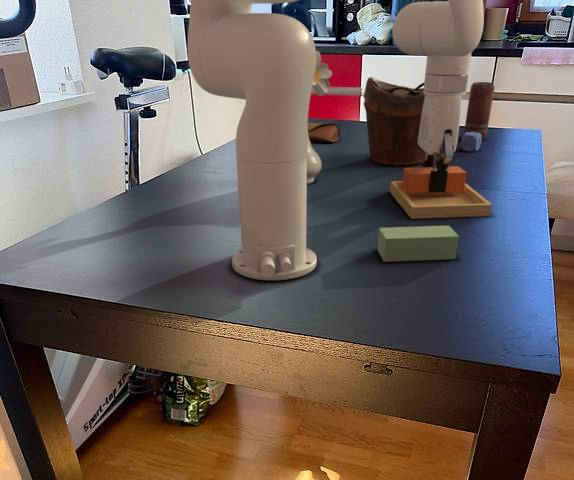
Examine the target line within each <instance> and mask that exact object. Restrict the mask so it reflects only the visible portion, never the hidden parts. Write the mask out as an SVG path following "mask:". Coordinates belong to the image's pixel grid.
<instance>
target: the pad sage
mask: <svg viewBox="0 0 574 480" xmlns="http://www.w3.org/2000/svg"><path fill="white" fill-rule="evenodd" d="M377 237H378V238H377V252H378V254H379V256H380V257H381V259H382V261H383V262H384V263H388V262H389V263H390V262H392V263H393V262H415V261H417V262H418V261H440V260H441V261H442V260H444V261H445V260H456V259H457V258H456V257H457V251H458V245H459V239H460V235H458V234H457V232H455V230H454V229H453V228H452V227H451V226H450V225H425V226H424V225H422V226H420V225H419V226H394V227H393V226H392V227H378V235H377Z"/></svg>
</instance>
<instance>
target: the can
mask: <svg viewBox="0 0 574 480" xmlns="http://www.w3.org/2000/svg"><path fill="white" fill-rule="evenodd" d="M494 93H495V83H494V82H487V81H486V82H485V81H476V82H472V85H471V86H470V90H469V97H468V102H467V109H466V117H465V125H464V130H463V135H464V134H465V133H467V132H476V133H480V134H481V141H485V139H486V138H487V135H488V129H489V123H490V117H491V111H492V105H493V98H494Z"/></svg>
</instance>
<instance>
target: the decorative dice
mask: <svg viewBox="0 0 574 480" xmlns="http://www.w3.org/2000/svg"><path fill="white" fill-rule="evenodd" d="M481 144H482V140H481V134H480V133H476V132H467V133H465V134H464V133H463V135H462V138H461V142H460V148H461V150H462V151H464V152H469V153H470V152H478V150H479V149H480V147H481Z"/></svg>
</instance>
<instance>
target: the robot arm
mask: <svg viewBox="0 0 574 480" xmlns="http://www.w3.org/2000/svg"><path fill="white" fill-rule="evenodd" d="M298 1H299V0H190V7H189V18H188V31H187V58H188V59H187V60H188V65H189V69H190V72H191V75H192V77H193V79H194V81H195V83H196V84H197V85H198V86H199V87H200V89H202V90H203V91H205V92H206V93H208V94H211V95H213V96H217V97H224V98H231V99H238V100H243V101H245V105H244V106H243V107H244V108H243V110H242V113H241V116H240V118H239V121H238V124H237V126H236V127H237V128H236V133H235V156H236V173H237V191H238V207H239V226H240V240H241V241H240V244H241V249H240V250H237V252H235V253H234V254H233V256H232V258H231V262H232V263H231V265H232V269H233V270H234V272H236V273H238V274H239V275H241V276H243V277H246V278H249V279H253V280H259V281H273V282H274V281H275V282H276V281H287V280H292V279H297V278H301V277H303V276H306V275H307V274H309V273H311V272H312V271H314V269H315V268H316V267H317V262H318V261H317V260H318V259H317V255H316V253H315V252H314V251H313V250H311V249H310V248H308V247H307V191H308V190H307V187H308V186H307V185H308V184H307V124H308V123H309V110H310V101H311V95H312V89H313V87H312V85H313V80H314V74H315V67H316V52H317V49H316V45H315V41H314V38H313V37H312V36H313V35H312V34H311V32H310V31H309V29H308V28H307V27H306V26H305V25H304V24H303V23H302V22H301V21H300V20H298V19H296V18H294V17H293V16H290V15H286V14H282V13H273V12H271V13H270V12H269V13H268V12H252V8H253V7H252V6H253V5H257V4H258V5H260V4H262V5H263V4H264V5H265V4H266V5H267V4H285V3H286V4H287V3H294V2H298ZM484 12H485V11H484V1H483V0H435V1H416V2H411V3H409V4H406V5H405V6H404V7H402V8H401V10H400V11H398V13H397V15H396V17H395V18H394V21H393V25H392V39H393V42H394V45H395V46H396V47H397V48H398V50H399V51H400V52H402V53H404V54H407V55H411V56H423V57H424V56H425V57H426V63H425V64H426V65H425V73H424V82H423V83H424V86H423V88H424V90H423V94H425V99H424V103H423V109H422V114H421V121H420V128H419V135H418V145H419V147H420V148H422V149H423V150H424V156H423V162H422V166H421V167H433V171H431V173H430V181H429V189H428V191H429V192H430V193H435V192H445V190H446V182H447V175H448V170H449V167H450V164H451V161H452V160H453V154H454V153H455V152H456V149H457V145H458V140H459V133H460V132H459V131H460V122H461V111H462V96H465V95H466V94H467V88H468V81H469V73H470V67H471V66H470V65H471V60H472V53H473V52H474V50H475V49H476V48H477V47H478V45H479V44H480V42H481V39H482V35H483V33H484V32H483V31H484V25H485V23H484V22H485V21H484V20H485V17H484V16H485V15H484V14H485V13H484ZM441 151H442V152H441Z"/></svg>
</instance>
